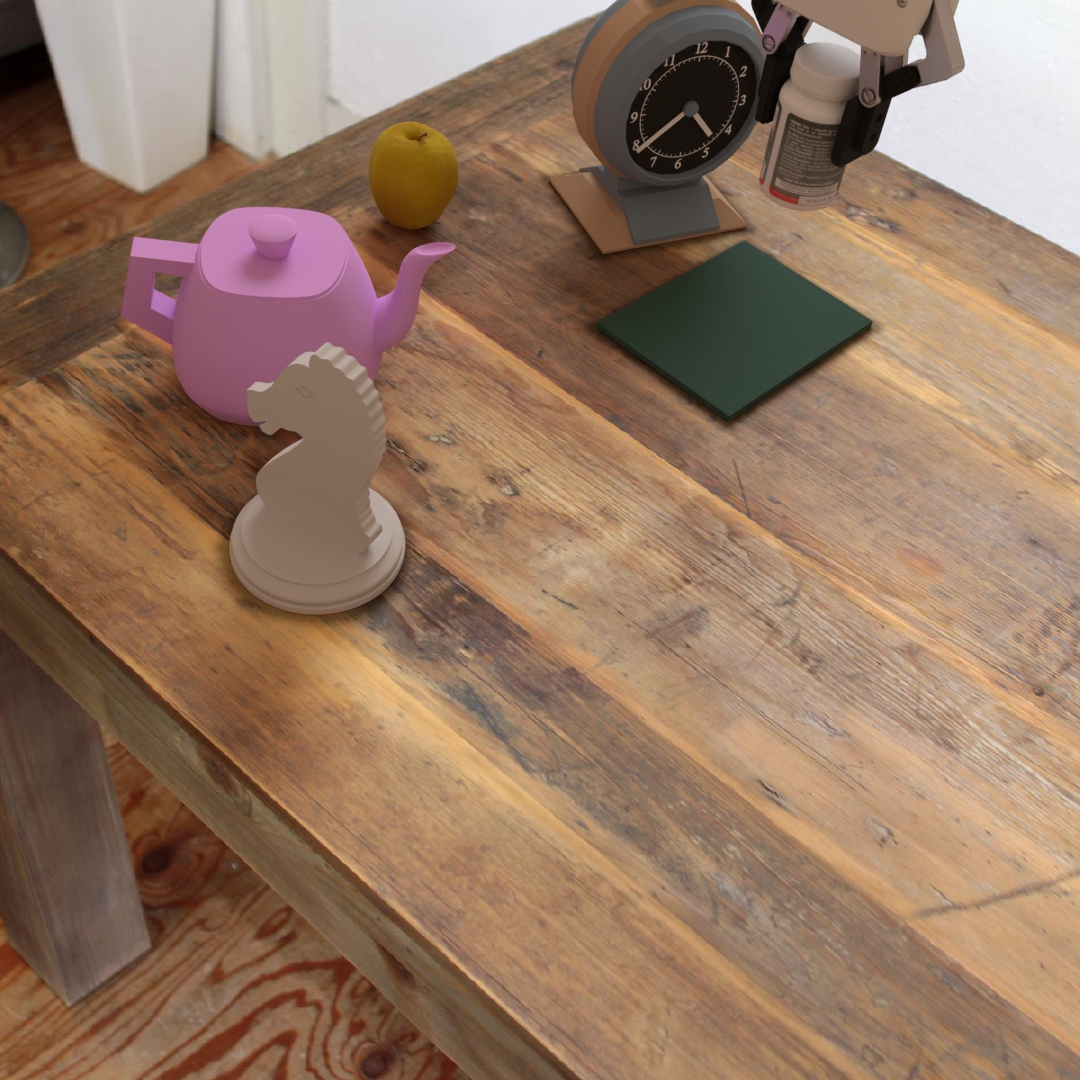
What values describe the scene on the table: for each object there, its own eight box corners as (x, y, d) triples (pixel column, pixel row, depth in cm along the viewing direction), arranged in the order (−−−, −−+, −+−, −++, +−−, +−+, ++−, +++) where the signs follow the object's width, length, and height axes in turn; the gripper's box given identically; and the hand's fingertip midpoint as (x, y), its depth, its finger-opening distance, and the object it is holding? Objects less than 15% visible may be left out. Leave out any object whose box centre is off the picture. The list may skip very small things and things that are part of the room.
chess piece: (298, 463, 80) (288, 258, 69) (437, 531, 78) (450, 329, 67) (193, 565, 74) (164, 358, 63) (340, 643, 72) (336, 441, 61)
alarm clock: (590, 256, 97) (626, 25, 84) (537, 182, 103) (562, -45, 90) (758, 225, 102) (817, 2, 89) (698, 156, 108) (745, -63, 95)
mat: (743, 245, 100) (744, 239, 100) (871, 326, 95) (873, 320, 95) (595, 328, 92) (596, 322, 91) (727, 422, 87) (729, 416, 86)
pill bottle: (851, 205, 79) (892, 75, 73) (785, 220, 77) (821, 87, 71) (807, 162, 82) (843, 33, 76) (742, 175, 80) (773, 44, 74)
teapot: (446, 451, 82) (455, 308, 74) (113, 436, 80) (84, 287, 72) (448, 314, 91) (457, 172, 83) (148, 297, 89) (127, 151, 81)
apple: (438, 255, 95) (444, 157, 90) (354, 233, 96) (354, 134, 90) (466, 207, 100) (473, 111, 94) (386, 187, 100) (387, 90, 95)
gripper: (1100, -159, 62) (970, 181, 75) (811, -274, 69) (739, 56, 82) (1016, -124, 58) (894, 229, 71) (719, -249, 65) (659, 93, 79)
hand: (812, 133), depth 77 cm, fingers closed on pill bottle, 4 cm apart
